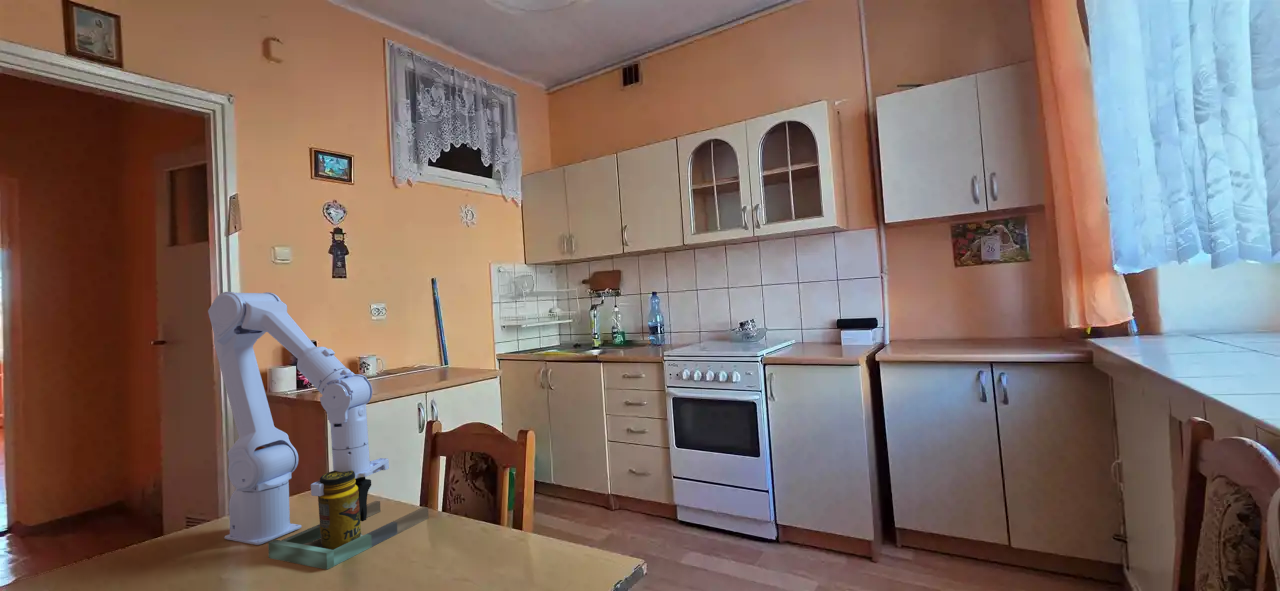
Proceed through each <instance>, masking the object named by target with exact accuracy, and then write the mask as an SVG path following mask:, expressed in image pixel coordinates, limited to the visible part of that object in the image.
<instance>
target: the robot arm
mask: <svg viewBox="0 0 1280 591" xmlns="http://www.w3.org/2000/svg"><path fill="white" fill-rule="evenodd" d="M207 313H208V317H209V320H210V324H211V328H212V331H213V345H214V349H215V353H216V357H217V360H218V363H219V367H220V372H221V375H222V379H223V383H224V387H225V391H226V395H227V397H228V401H229V404H230V409H231V412H232V416H233V420H234V425H235V427H236V432H237V435H238V439H236V440H235V442H234V443H233V445H232V446H231V447H230V448H229V449H228V451H227V453H226V454H227V458H228V469H227V475H228V479H229V481H230V483H231V484H232V485H233V487H234V488H235V490H234V491H232V494H231V496H230V499H229V504H228V510H229V511H228V514H229V534H227V535H224V539H225V540H228V541H235V542H240V543H245V544H251V545H256V546H260V545H262V544H265V543H268V542H271V541H273V540H276V539H277V538H280V537H283V536H285V535H287V534H290V533H292V532H294V531H297V530H299V529H301V528H302V524H297V523H291V517H290V515H291V514H290V510H291V508H290V485H289V484H290V482H289V480H291V479H292V473H294V472H295V470H296V469H297V467H298V465H299V454H298V451H297V449H296V448H295V447H294V445H293V444H292V443H291V441H290V439H289V438H290V437H289V435H288V433H286V432H285V431H283V430H281V429H279V428H277V427H275V425H274V424H275V423H274V420H273V417H272V413H271V409H270V405H269V402H268V398H267V394H266V390H265V387H264V383H263V380H262V375H261V372H260V369H259V365H258V362H257V356H256V353H255V350H254V345H255V344H256V342H257V341H258V339H260V338H262V337H263V336H264V335H265V334H266V333H268V334H269V335H270V336H271V337H272V338H274V339H275V340H276V341H277V342H278V343H279V344H281V346H283V347H284V348H285V349H286V350H287V351H288V352H289V353H291V354H292V355H293V356H294V357H295V358H296V359H297V364H296V369H297V370H298V371H299V372H300V374H301V375H302V376H303V377H305V379H306V380H307V381H308V382H309V383H310V384H311V385H312V386H313V387H314V388H315V389H316V390H317V391H318V392H319V393H320V394H321V395H322V396H320V397H319V401H320V405H321V406H322V408H323V409H324V410H325V412H326V416H327V421H328V422H329V424H330V439H331V454H332V471H338V472H347V471H351V470H352V471H354V473H355V480H356V483H355V484H356V485H357V486H358V491H359V507H360V521H361V522H364V521H367V519H368V517H367V504H368V502H367V500H368V495H369V494H368V493H369V490H370V488H371V487H372V480H371V479H370V478H369V479H368V478H366V477H368V476H371V475H373V474H376V473H379V472H381V471H386V470H389V469H390V463H389V461H390V460H389V458H383V457H379V458H378V459H374V460H370V449H369V448H370V446H369V445H370V444H369V430H368V429H369V428H368V416H367V415H368V413H367V404H369V403H370V401H371V399H372V397H373V386H372V383H371V382H370V381H369V380H368V377H367V376H365V375H363V374H360V373H359V374H358V373H356V374H355V373H354V372H353V371H351V370H350V369H349V368H348V367H346V366H345V365H344V364H343V363H342V362H341V361H340V359H338V357H336V356H335V354H336V352H335V351H334V350H333V349H332V348H327V347H326V346H316V345H315V344H314V343H313V341H311V339H310V338H309V337H308V336H307V334H306V333H305V332H304V331H303V330H302V328H301V327H300V326H299V325H298V323H297V322H296V321H295V320H294V319H293V318H292V316H290V314H289V313H288V305H287V304H286V303H285V302H283V301H282V300H281V298H280V297H279V296H278V295H277V294H275V293H273V292H234V291H224V292H222V293H220V294H217V296H216V297H215V298H214V300H213V302H212V303H211V305H210V307H209V308H208V310H207ZM260 447H263V448H261V449H257V448H260ZM323 489H324V484H323V483H322V484H321V483H320V479H319V480H318V481H315V482H313V483H311V484H310V493H311V496H313V497H318V496H322V495H324V492H323Z"/></svg>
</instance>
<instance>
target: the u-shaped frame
mask: <svg viewBox="0 0 1280 591" xmlns="http://www.w3.org/2000/svg"><path fill="white" fill-rule="evenodd" d="M380 512H381V501H380V500H373V501H372V502H370V503H367V518H370V517H371V516H374V515H376V514H378V513H380ZM429 517H430V516H429V507H427V506H422V507H420V508H418V509H416V510H414V511H411V512H409V513H407V514H406V515H403V516H401V517H399V518H397V519H395V520H392V521H391V522H389V523H386V524H384V525H381V526H380V527H378V528H376V529H374V530H372V531H369V532H367V533H365V534H364V535H363V534H362V535H363V536H361V537H359V538H357V539H355V540H353V541H351V542H348V543H346V544H344V545H342V546H340V547H338V548H336V549H334V550H331V549H325V548H320V547H314V546H309V545H303V544H305V543H308V542H313V541H317V540H319V539H321V534H320V523H319V524H317V525H314V526H312V527H310V528H307V529H305V530H302V531H300V532H298V533H296V534H293V535H291V536H287V537H286V538H283V539H281V540H279V539H273V540H270V541H268V542H267V543H268V559H271V560H278V561H283V562H287V563H293V564H298V565H302V566H305V567H306V566H308V567H312V568H317V569H322V570H326V571H327V570H329V569H331V568H333V567H336V566H337V565H339V564H341V563H344V562H345V561H347V560H349V559H351V558H353V557H355V556H356V555H358V554H362V553H363V552H364V551H366V550H368V549H371V548H373V547H374V546H376V545H378V544H381V543H383V542H384V541H387V540H388V539H390V538H392V537H394V536H396V535H398V534H400V533H402V532H404V531H406V530H408V529H410V528H412V527H414V526H416V525H418V524H420V523H422V522H424V521H425V520H428V519H429Z"/></svg>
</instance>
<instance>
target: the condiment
mask: <svg viewBox="0 0 1280 591" xmlns="http://www.w3.org/2000/svg"><path fill="white" fill-rule="evenodd" d="M319 480H320V483H321V484H322V483H323V484H324V489H323V492H324V495H322V496H317V501H318V503H317V504H318V516H319V524H320V534H321V538H320V539H317V540H315V541H313V542H308V543H305V544H303V545H309V546H314V547H320V548H325V549H331V550H334V549H336V548H338V547H340V546H342V545H344V544H346V543H348V542H351V541H353V540H355V539H357V538H359V537H361V536H363V534H362V533H361V532H362V528H361V524H362V523H361V522H362V521H360V507H359V491H358V486H357V485H356V484H355V483H356V480H355V473H354V471H352V470H351V471H347V472H338V471H333V470H331V471H329V472H327V473H324V474H323V475H322V476H321V477H320V478H319Z"/></svg>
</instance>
